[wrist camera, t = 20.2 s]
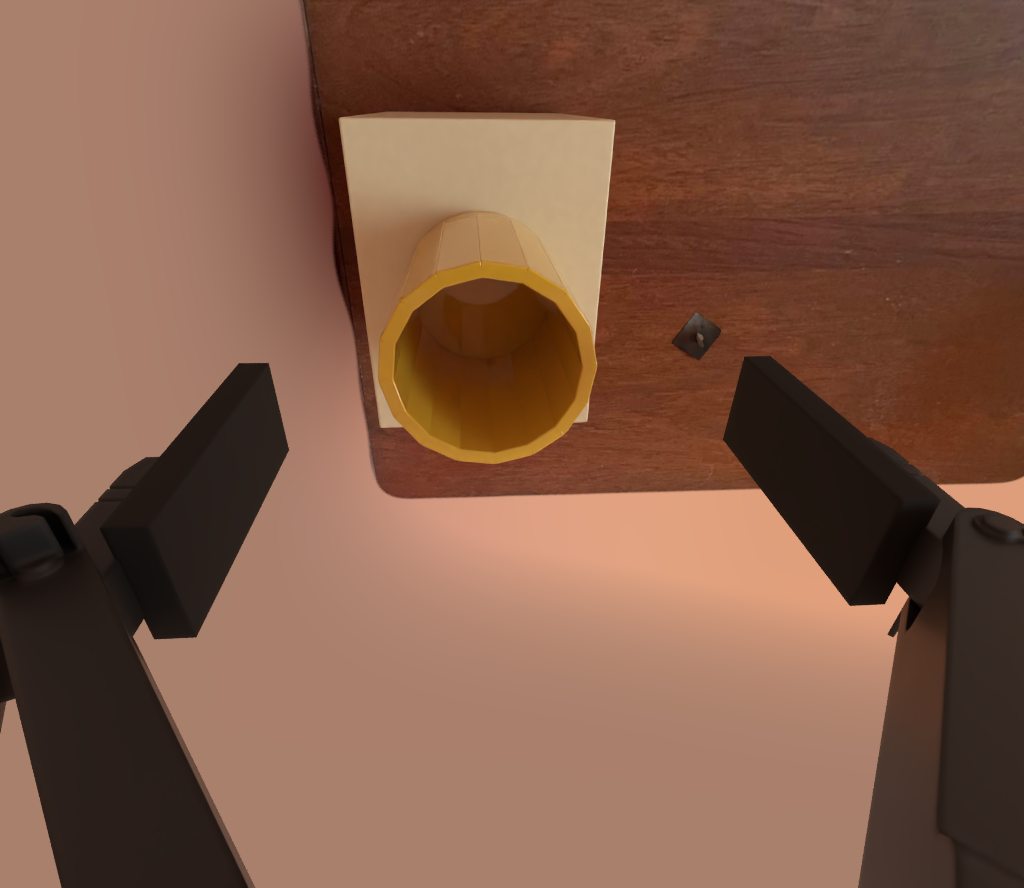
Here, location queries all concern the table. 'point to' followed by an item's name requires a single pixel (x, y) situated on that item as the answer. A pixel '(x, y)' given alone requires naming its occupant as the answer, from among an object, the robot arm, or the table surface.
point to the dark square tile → (697, 336)
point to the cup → (485, 343)
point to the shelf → (474, 195)
